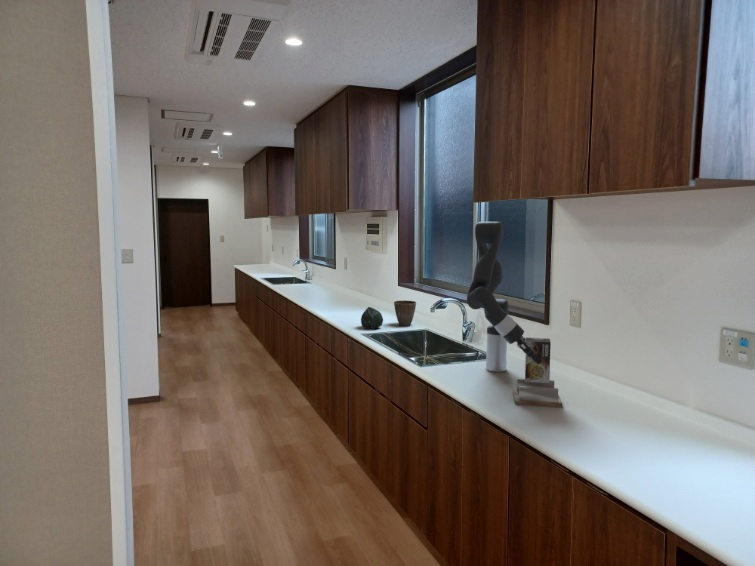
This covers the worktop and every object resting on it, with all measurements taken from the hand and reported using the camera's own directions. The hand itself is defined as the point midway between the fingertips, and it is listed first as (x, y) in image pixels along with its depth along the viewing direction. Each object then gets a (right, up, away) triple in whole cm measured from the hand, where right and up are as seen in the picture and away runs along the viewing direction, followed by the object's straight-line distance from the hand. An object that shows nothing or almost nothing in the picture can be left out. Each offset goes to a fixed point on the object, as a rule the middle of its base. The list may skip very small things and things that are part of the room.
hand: (539, 360), depth 200 cm
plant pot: (-44, +1, +152) cm, 158 cm away
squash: (-66, 0, +143) cm, 157 cm away
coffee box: (-1, -8, +1) cm, 8 cm away
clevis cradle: (0, -16, +2) cm, 16 cm away
